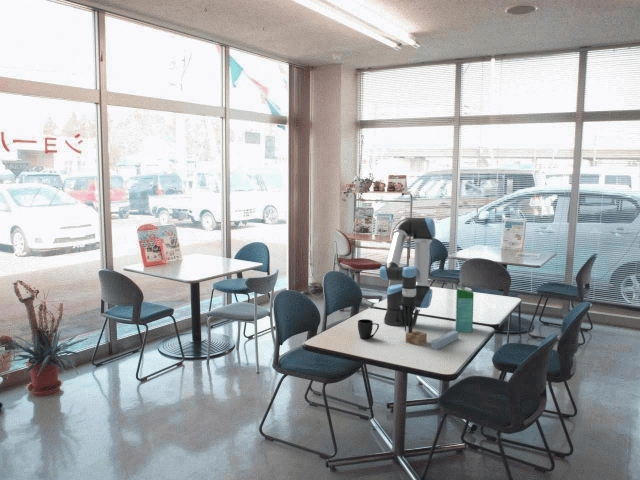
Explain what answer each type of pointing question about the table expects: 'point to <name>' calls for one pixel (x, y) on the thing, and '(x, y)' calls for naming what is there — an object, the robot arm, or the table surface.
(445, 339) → the pale blue bar
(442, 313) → the table surface
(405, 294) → the robot arm
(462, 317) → the milk carton
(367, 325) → the mug
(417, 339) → the block
